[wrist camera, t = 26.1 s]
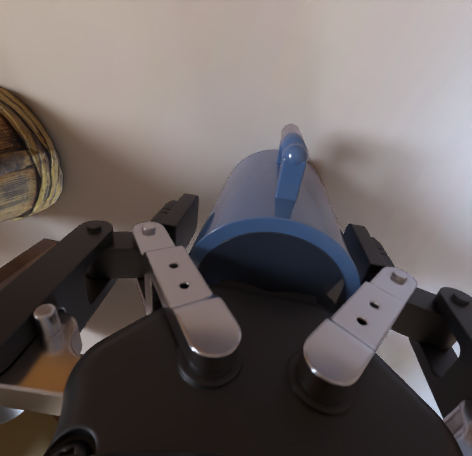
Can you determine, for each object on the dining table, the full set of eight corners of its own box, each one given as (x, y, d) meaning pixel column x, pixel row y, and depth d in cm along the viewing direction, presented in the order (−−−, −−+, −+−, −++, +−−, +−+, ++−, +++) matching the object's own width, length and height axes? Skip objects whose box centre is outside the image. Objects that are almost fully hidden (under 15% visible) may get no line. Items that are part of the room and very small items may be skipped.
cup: (219, 231, 19) (178, 337, 11) (234, 107, 15) (186, 139, 7) (308, 248, 19) (328, 369, 11) (348, 126, 15) (425, 181, 7)
